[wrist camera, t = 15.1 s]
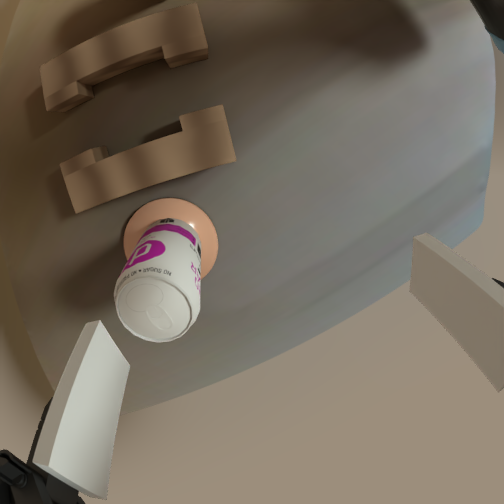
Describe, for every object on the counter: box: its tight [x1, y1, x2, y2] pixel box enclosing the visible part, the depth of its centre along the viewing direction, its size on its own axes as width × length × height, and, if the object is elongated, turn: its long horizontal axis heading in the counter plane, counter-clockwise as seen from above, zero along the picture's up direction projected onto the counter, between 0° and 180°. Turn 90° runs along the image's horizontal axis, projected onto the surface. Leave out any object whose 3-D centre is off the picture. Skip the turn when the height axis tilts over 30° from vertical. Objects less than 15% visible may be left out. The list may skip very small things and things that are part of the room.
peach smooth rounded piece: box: [124, 197, 218, 280], centre depth 37 cm, size 13×13×1 cm
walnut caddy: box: [40, 3, 236, 214], centre depth 27 cm, size 20×20×5 cm
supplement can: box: [114, 218, 201, 342], centre depth 30 cm, size 8×8×15 cm
